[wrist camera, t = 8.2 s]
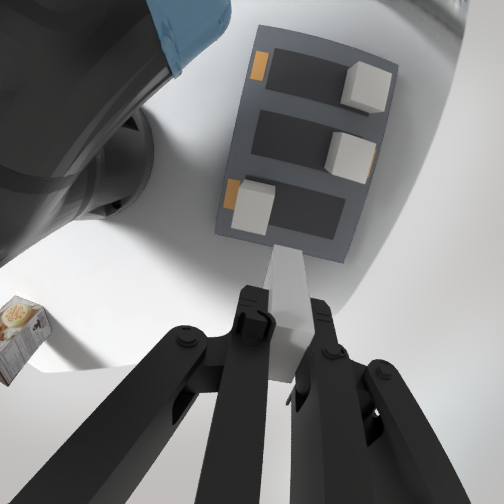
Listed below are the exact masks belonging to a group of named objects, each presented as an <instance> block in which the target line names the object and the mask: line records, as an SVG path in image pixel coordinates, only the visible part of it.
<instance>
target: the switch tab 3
mask: <svg viewBox="0 0 504 504" xmlns="http://www.w3.org/2000/svg"><path fill="white" fill-rule="evenodd" d="M375 147H376V143H373V142H370V141H367V140H364V139H361V138H358V137H355V136H352V135H349V134H346V133H343V132H333V135H332V139H331V143H330V147H329V151H328V155H327V159H326V163H325V166H324V168H325V169H326V170H327V171H328V172H330V173H331V174H332V175H336V176H339V177H343V178H346V179H349V180H352V181H356V182H359V183H362V184H365V183H366V180H367V176H368V173H369V169H370V166H371V162H372V158H373V155H374V151H375Z"/></svg>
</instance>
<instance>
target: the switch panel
mask: <svg viewBox="0 0 504 504" xmlns="http://www.w3.org/2000/svg"><path fill="white" fill-rule="evenodd" d="M358 61H360V62H363V63H366V64H369V65H371V66H374V67H377V68H379V69H382V70H384V71H387V72H389V73H391V74H392V77H391V82H390V87H389V92H388V97H387V101H386V106H385V110H384V112H377V113H367V112H365V111H362V110H359V109H356V108H353V107H350V106H347V105H344V104H341V103H340V102H341V98H342V93H343V89H344V84H345V80H346V75H347V71H348V69H349V68H351V67H352V66H353V65H354V64H356V63H357V62H358ZM397 71H398V65H397V64H395V63H392V62H390V61H388V60H385V59H383V58H380V57H378V56H375V55H373V54H370V53H367V52H365V51H362V50H359V49H356V48H353V47H350V46H347V45H344V44H341V43H337V42H334V41H331V40H327V39H324V38H320V37H316V36H312V35H308V34H304V33H300V32H295V31H291V30H286V29H281V28H276V27H270V26H264V25H259V26H258V30H257V34H256V38H255V42H254V46H253V50H252V54H251V58H250V62H249V66H248V70H247V74H246V79H245V83H244V87H243V92H242V96H241V101H240V105H239V110H238V114H237V119H236V124H235V128H234V133H233V138H232V143H231V148H230V153H229V158H228V163H227V168H226V173H225V178H224V184H223V189H222V194H221V200H220V205H219V211H218V216H217V222H216V228H215V234H218V235H222V236H227V237H231V238H236V239H240V240H245V241H249V242H253V243H258V244H262V245H266V246H271V247H274V244H276V245H280V246H285V247H289V248H293V249H297V250H302V253H303V254H305V255H309V256H314V257H318V258H322V259H326V260H331V261H335V262H339V263H344V260H345V258H346V255H347V252H348V250H349V247H350V244H351V241H352V238H353V235H354V233H355V230H356V227H357V224H358V221H359V218H360V215H361V212H362V209H363V206H364V202H365V199H366V196H367V193H368V190H369V186H370V183H371V179H372V176H373V173H374V169H375V166H376V162H377V158H378V155H379V151H380V147H381V143H382V140H383V136H384V132H385V127H386V123H387V119H388V115H389V110H390V106H391V101H392V97H393V92H394V87H395V82H396V77H397ZM333 132H343V133H346V134H349V135H352V136H355V137H358V138H361V139H364V140H367V141H370V142H373V143H376V147H375V151H374V155H373V158H372V162H371V166H370V169H369V173H368V176H367V180H366V183H365V184H362V183H359V182H356V181H352V180H349V179H346V178H343V177H339V176H336V175H332V174H331V173H330V172H328V171H327V170H326V169H325V168H324V166H325V163H326V159H327V155H328V151H329V147H330V143H331V139H332V135H333ZM244 179H246V180H251V181H255V182H260V183H264V184H268V185H273V186H275V197H274V201H273V205H272V209H271V214H270V218H269V222H268V226H267V230H266V234H265V235H261V234H256V233H252V232H248V231H243V230H239V229H234V228H231V225H232V220H233V215H234V210H235V205H236V200H237V195H238V190H239V187H240V185H241V184H242V182H243V181H244Z"/></svg>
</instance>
